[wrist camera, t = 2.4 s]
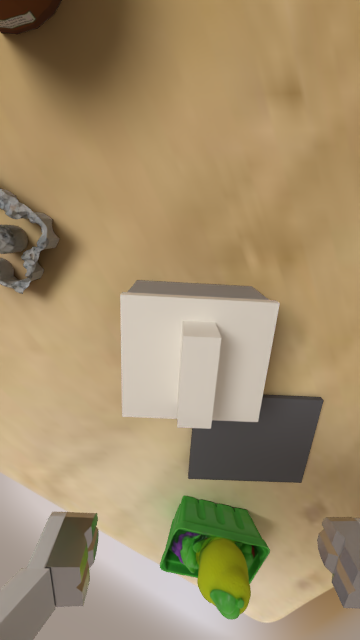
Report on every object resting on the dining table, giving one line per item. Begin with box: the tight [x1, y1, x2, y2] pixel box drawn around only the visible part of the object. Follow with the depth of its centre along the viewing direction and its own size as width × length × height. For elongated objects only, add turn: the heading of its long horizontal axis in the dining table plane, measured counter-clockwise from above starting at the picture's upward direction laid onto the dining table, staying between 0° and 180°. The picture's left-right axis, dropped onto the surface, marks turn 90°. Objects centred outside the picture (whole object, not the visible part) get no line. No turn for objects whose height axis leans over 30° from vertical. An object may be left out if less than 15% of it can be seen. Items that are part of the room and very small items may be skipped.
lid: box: [120, 292, 280, 429], centre depth 20 cm, size 11×10×5 cm
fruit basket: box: [160, 496, 270, 619], centre depth 30 cm, size 11×9×11 cm
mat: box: [188, 395, 324, 483], centre depth 31 cm, size 14×12×1 cm
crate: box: [128, 280, 269, 300], centre depth 24 cm, size 11×10×6 cm
